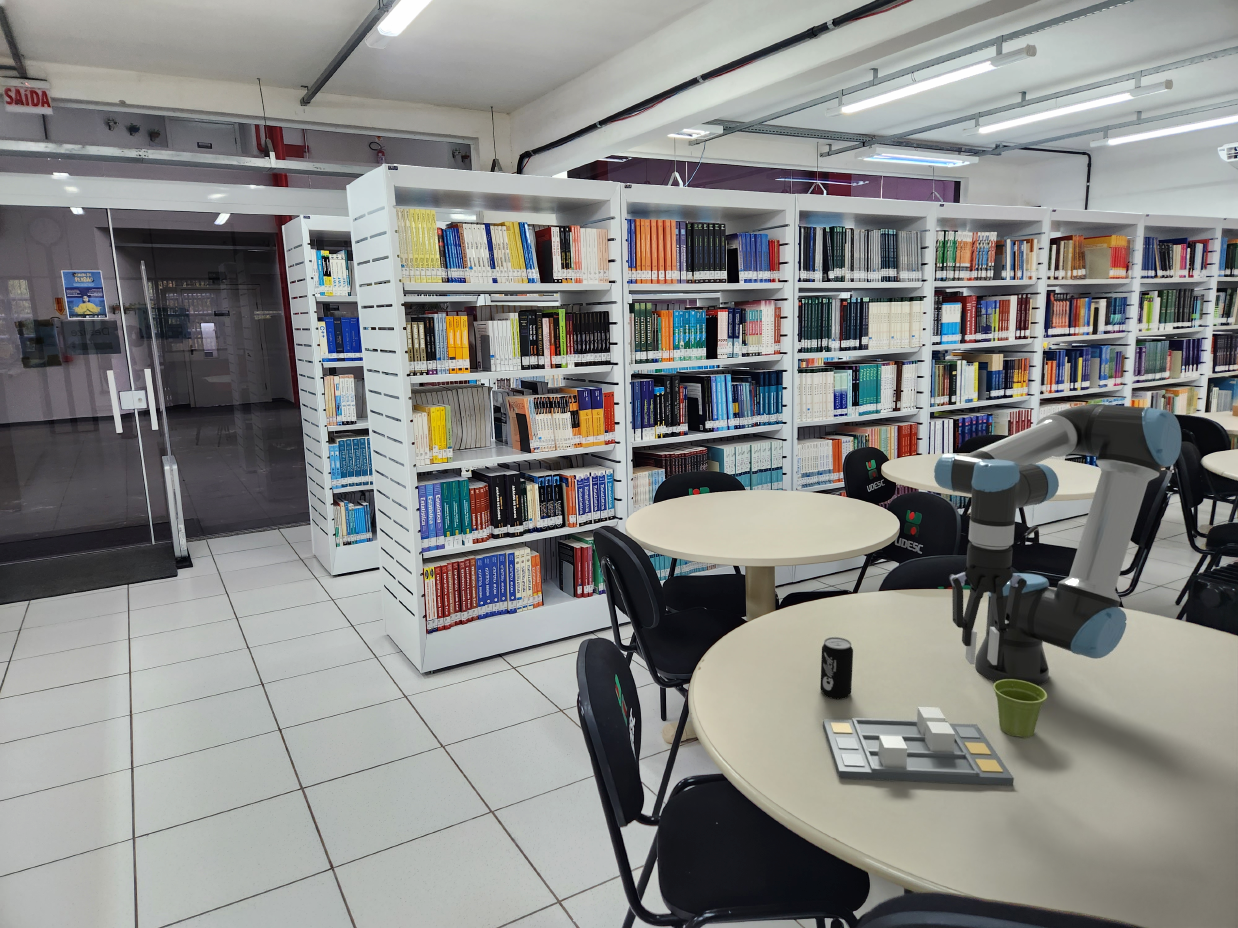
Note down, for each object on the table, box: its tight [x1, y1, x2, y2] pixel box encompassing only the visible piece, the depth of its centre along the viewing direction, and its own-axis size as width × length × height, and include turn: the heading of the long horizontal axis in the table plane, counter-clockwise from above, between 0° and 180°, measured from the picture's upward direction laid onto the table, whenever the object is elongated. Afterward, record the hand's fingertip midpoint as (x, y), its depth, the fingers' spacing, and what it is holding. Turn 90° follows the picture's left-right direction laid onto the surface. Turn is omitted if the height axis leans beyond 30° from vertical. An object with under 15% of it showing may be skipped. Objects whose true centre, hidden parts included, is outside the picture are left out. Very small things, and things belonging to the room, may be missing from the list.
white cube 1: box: [916, 706, 946, 736], centre depth 149 cm, size 4×4×4 cm
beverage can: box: [820, 636, 854, 700], centre depth 167 cm, size 7×7×12 cm
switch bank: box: [822, 717, 1015, 787], centre depth 145 cm, size 30×18×2 cm, turn 84°
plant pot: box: [992, 679, 1048, 739], centre depth 152 cm, size 9×9×9 cm
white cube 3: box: [878, 736, 907, 768], centre depth 139 cm, size 4×4×4 cm
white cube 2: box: [925, 721, 955, 752], centre depth 144 cm, size 4×4×4 cm
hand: (980, 661), depth 146 cm, fingers open, 3 cm apart
